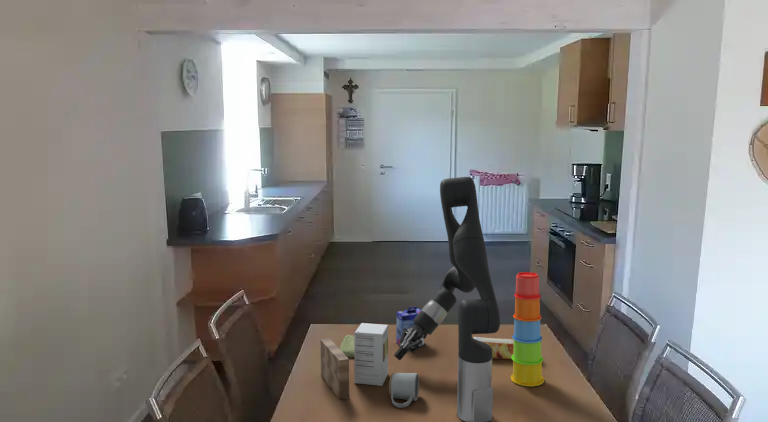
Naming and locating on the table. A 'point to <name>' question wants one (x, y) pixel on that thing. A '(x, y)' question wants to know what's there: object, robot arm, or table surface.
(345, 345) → the washcloth
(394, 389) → the ceramic mug
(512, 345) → the snack package
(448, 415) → the table surface
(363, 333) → the supplement box
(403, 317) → the ink cartridge box
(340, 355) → the wooden board
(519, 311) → the stacking cups
